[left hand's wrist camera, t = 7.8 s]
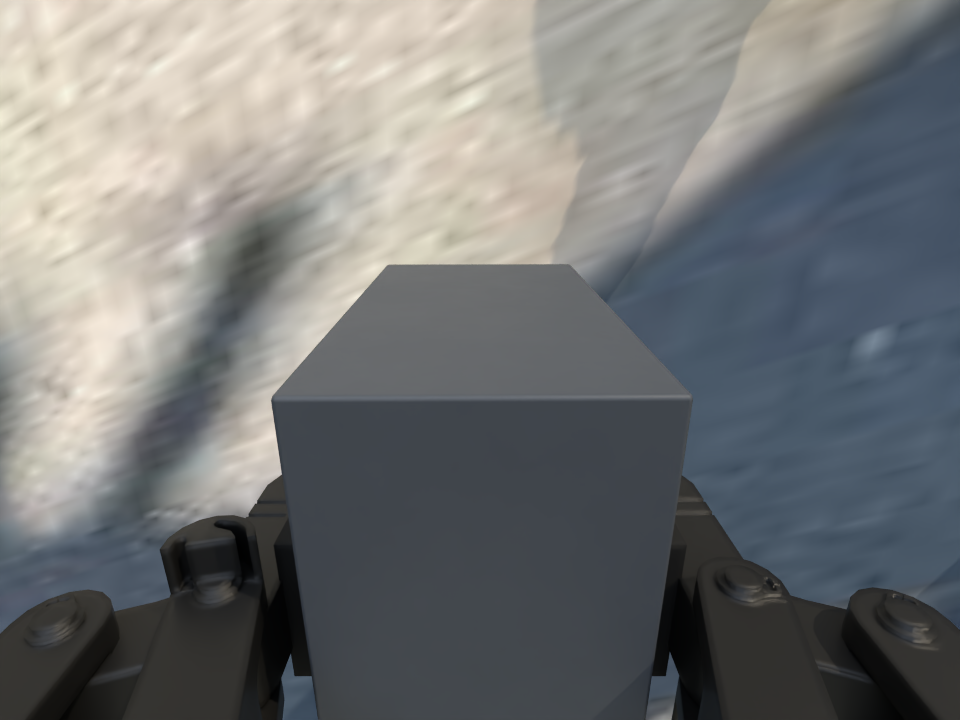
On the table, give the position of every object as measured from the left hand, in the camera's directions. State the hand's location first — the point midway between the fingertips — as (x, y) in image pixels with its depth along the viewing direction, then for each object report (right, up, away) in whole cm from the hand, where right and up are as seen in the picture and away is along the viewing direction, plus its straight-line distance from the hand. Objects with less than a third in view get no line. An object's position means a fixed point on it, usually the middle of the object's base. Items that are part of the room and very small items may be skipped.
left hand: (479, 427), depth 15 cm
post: (0, -25, +10) cm, 27 cm away
